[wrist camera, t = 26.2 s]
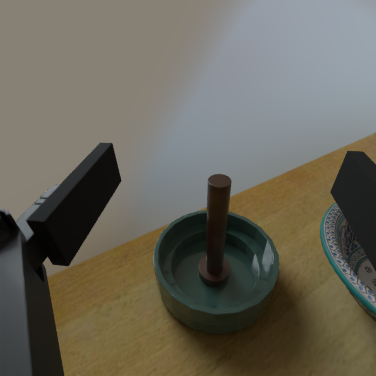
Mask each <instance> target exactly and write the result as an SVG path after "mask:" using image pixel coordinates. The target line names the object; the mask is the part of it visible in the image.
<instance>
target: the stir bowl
mask: <svg viewBox="0 0 376 376" xmlns="http://www.w3.org/2000/svg"><path fill="white" fill-rule="evenodd" d="M206 232H207V210H205V211H197V212H194V213H190V214H187V215H184V216H182V217H180V218H179V219H177V220H175V221H173V222H172V223H171V224H170V225H169V226H168V227H167V228H166V229H165V230H164V231H163V232H162V233H161V234H160V236H159V239H158V241H157V243H156V245H155V247H154V258H153V266H154V271H155V276H156V281H157V286H158V289H159V292H160V295H161V299H162V301H163V303H164V304H165V305H166V307H167V308H168V309H169V311H170V312H171V313H172V315H173V316H174V317H175V318H177V319H178V320H180V321H181V322H183V323H184V324H186V325H187V326H189V327H190V328H192V329H196V330H199V331H203V332H207V333H211V334H220V333H233V332H236V331H238V330H241V329H243V328H245V327H247V326H249V325H251V324H253V323H254V322H255V321H256V320H257V319H258V318H259V317H260V316H261V315H262V314H263V313H264V311H265V310H266V309H267V306H268V303H269V301H270V298H271V295H272V292H273V289H274V286H275V284H276V281H277V278H278V275H279V255H278V253H277V251H276V248H275V246H274V244H273V242H272V240H271V238H270V237H269V236H268V235H267V234H266V233H265V232H264V231H263V229H262V228H261V227H259V226H258V225H256V224H255V223H253V222H252V221H250V220H249V219H247V218H245V217H243V216H240V215H237V214H235V213H232V212H228V221H227V231H226V241H225V251H224V258H225V259H226V260H227V261H228V263H229V265H230V274H229V279H228V280H227V282H226V283H225V284H223V285H221V286H218V287H212V286H208V285H206V284H205V283H203V282H202V281H201V279H200V277H199V274H198V265H199V262H200V260H201V259H202V258H203V257H204V256H206Z"/></svg>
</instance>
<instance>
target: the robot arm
mask: <svg viewBox="0 0 376 376" xmlns="http://www.w3.org/2000/svg"><path fill="white" fill-rule="evenodd" d="M120 182H121V177H120V173H119V169H118V165H117V161H116V157H115V153H114V148H113V144H112V143H100V144H99V145H98V146H97V147H96V148H95V149H94V150H93V151H92V152H91V153H90V154H89V155H88V156H87V157H86V158H85V159H84V160H83V161H82V162H81V163H80V164H79V165H78V167H77V168H76V169H75V170H74V171H73V172H72V173H71V174H70V175H69V176H68V177H67V178H66V179H65V180H64V181H63V182H62V183H61V184H60V185H55V186H54V187H52V188H50V189H48V190H47V191H46V192H45V193H44V194H43V195H42V196H41V197H40V199H38V200H37V201H36V202H35V203H34V204H33V205H32V206H31V207H30V208H29V209H28V210H27V211H26V212H25V213H24V214H23V215H22V216H21V217H20V218H19V219H18V220H17V221H16V222H15V220H14V219H13V217H12V216H11V214H10V213H9V211H7V210H5V209H0V376H64V371H63V365H62V360H61V354H60V348H59V343H58V337H57V331H56V326H55V320H54V314H53V309H52V303H51V297H50V291H49V286H48V280H47V275H46V269H45V266H44V265H43V262H44V261H45V259H46V258H47V256H48V258H49V259H50V261H51V263H52V264H53V265H62V266H69V265H70V263H71V261H72V260H73V258H74V256H75V255H76V253H77V252H78V250H79V248H80V247H81V245H82V243H83V242H84V240H85V239H86V237H87V235H88V234H89V232H90V231H91V229H92V227H93V226H94V224H95V223H96V221H97V219H98V217H99V216H100V215H101V213H102V211H103V210H104V208H105V206H106V205H107V203H108V202H109V200H110V198H111V197H112V195H113V193H114V192H115V190H116V189H117V187H118V185H119V184H120ZM330 193H331V194H332V196H333V198H334V200H335V201H336V203H337V205H338V207H339V208H340V210H341V212H342V214H343V215H344V217H345V219H346V221H347V222H348V224H349V226H350V228H351V229H352V231H353V233H354V235H355V236H356V238H357V240H358V242H359V243H360V245H361V247H362V249H363V250H364V252H365V254H366V256H367V257H368V259H369V261H370V263H371V264H372V266H373V268H374V270H375V271H376V164H375V163H374V162H373V161H372V160H371V159H370V158H369V157H368V156H367V155H366V154H365V153H364V152H360V151H347V154H346V156H345V158H344V161H343V163H342V165H341V168H340V170H339V173H338V175H337V177H336V180H335V182H334V184H333V187H332V189H331V192H330Z"/></svg>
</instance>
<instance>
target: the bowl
mask: <svg viewBox="0 0 376 376" xmlns="http://www.w3.org/2000/svg"><path fill="white" fill-rule="evenodd" d="M320 235H321V242H322V246H323V249H324V251H325V254H326V256H327V258H328V260H329V262H330V264H331V265H332V267H333V269H334V270H335V272H336V273H337V275H338V276H339V277H340V279H341V280H342V282H343V283H344V284H345V285H346V287H347V289H348V290H349V292H350V293H351V295H352V296H353V298H354V299H355V300H356V301H357V303H358V304H359V305H360V306H361V307H362V308H363V309H364V311H365V312H366V313H367V314H368V315H369V316H371V317H372V318H373V319H374V320H375V321H376V271H375V270H374V268H373V266H372V264H371V263H370V261H369V259H368V257H367V256H366V254H365V252H364V250H363V249H362V247H361V245H360V243H359V242H358V240H357V238H356V236H355V235H354V233H353V231H352V229H351V228H350V226H349V224H348V222H347V221H346V219H345V217H344V215H343V214H342V212H341V210H340V208H339V207H338V205H337V203H334V204H333V205H332V206H331V207H330V208H329V209H328V210H327V211H326V213H325V214H324V216H323V218H322V222H321V227H320Z"/></svg>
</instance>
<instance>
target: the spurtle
mask: <svg viewBox="0 0 376 376" xmlns="http://www.w3.org/2000/svg"><path fill="white" fill-rule="evenodd" d="M230 190H231V179H230V178H229V177H228V176H226V175H222V174H215V175H212V176H210V177H209V179H208V196H207V232H206V256H204V257H203V258H202V259H201V260H200V262H199V265H198V274H199V277H200V279H201V281H202V282H203V283H205V284H206V285H208V286H212V287H218V286H221V285H223V284H225V283H226V282H227V280H228V279H229V274H230V265H229V263H228V261H227V260H226V259H225V258H224V251H225V241H226V231H227V221H228V211H229V201H230Z"/></svg>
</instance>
